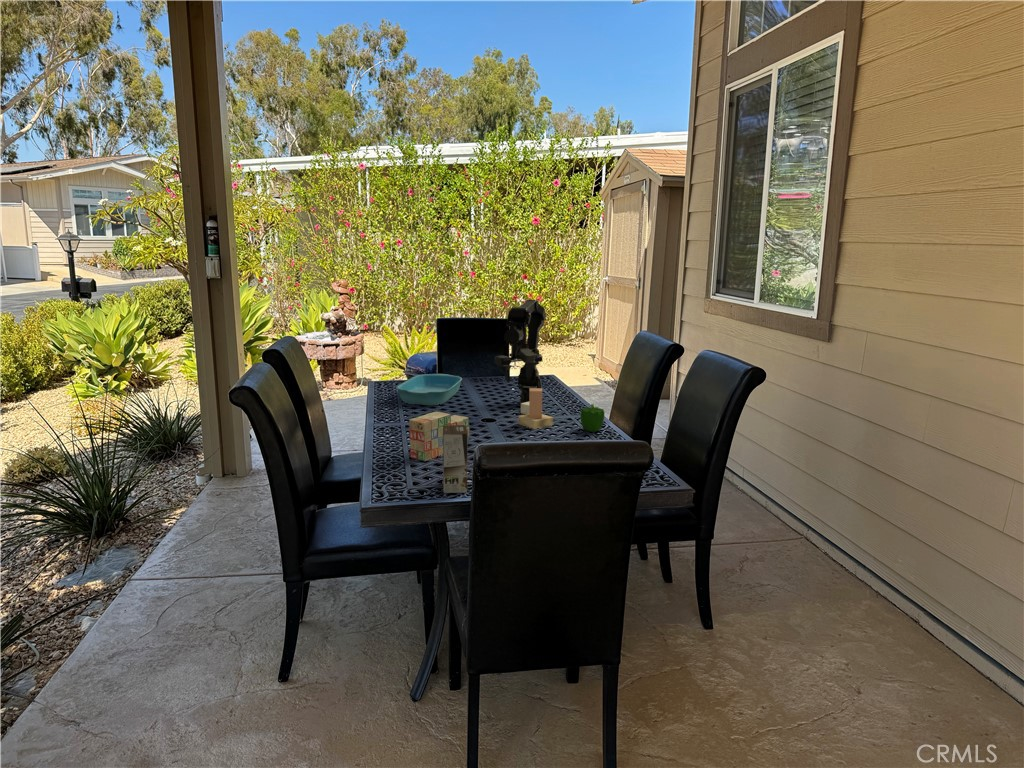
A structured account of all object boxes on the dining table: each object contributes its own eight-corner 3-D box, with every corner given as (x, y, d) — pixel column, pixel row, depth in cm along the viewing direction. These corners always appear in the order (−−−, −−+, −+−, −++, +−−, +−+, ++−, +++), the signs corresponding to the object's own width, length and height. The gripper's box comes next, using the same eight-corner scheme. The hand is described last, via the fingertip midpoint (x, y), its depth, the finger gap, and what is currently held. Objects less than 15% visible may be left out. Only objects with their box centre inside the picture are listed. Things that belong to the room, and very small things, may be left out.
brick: (529, 411, 258) (529, 401, 257) (538, 413, 254) (539, 403, 253) (520, 413, 254) (520, 403, 253) (530, 415, 251) (530, 405, 250)
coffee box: (467, 493, 171) (467, 433, 168) (443, 493, 170) (442, 434, 167) (466, 480, 180) (466, 424, 177) (443, 481, 179) (442, 424, 176)
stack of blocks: (454, 441, 216) (454, 405, 214) (469, 445, 213) (469, 408, 210) (409, 457, 199) (408, 418, 197) (424, 461, 196) (424, 422, 193)
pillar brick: (529, 414, 239) (529, 388, 237) (541, 414, 239) (541, 388, 237) (529, 418, 235) (529, 391, 233) (542, 418, 235) (542, 391, 233)
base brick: (537, 421, 244) (537, 412, 243) (553, 426, 237) (553, 417, 236) (518, 425, 238) (518, 416, 238) (534, 430, 232) (534, 421, 231)
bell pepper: (585, 425, 237) (586, 399, 235) (606, 429, 233) (608, 402, 231) (575, 431, 230) (576, 403, 228) (597, 434, 226) (598, 406, 224)
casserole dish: (443, 409, 258) (443, 392, 257) (390, 406, 262) (389, 389, 261) (467, 390, 294) (467, 374, 292) (419, 387, 298) (419, 372, 296)
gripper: (510, 345, 235) (509, 387, 238) (551, 341, 245) (550, 382, 248) (493, 341, 244) (493, 382, 247) (534, 338, 254) (533, 377, 257)
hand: (518, 381), depth 250 cm, fingers open, 9 cm apart
